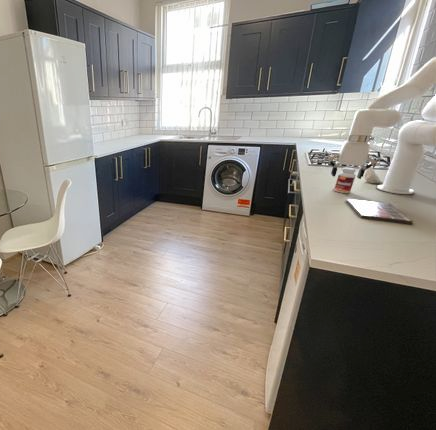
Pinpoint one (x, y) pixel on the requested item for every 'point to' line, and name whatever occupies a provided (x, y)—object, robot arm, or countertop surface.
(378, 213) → the board
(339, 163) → the robot arm
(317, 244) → the countertop surface
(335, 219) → the countertop surface
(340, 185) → the pill bottle
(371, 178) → the stone
